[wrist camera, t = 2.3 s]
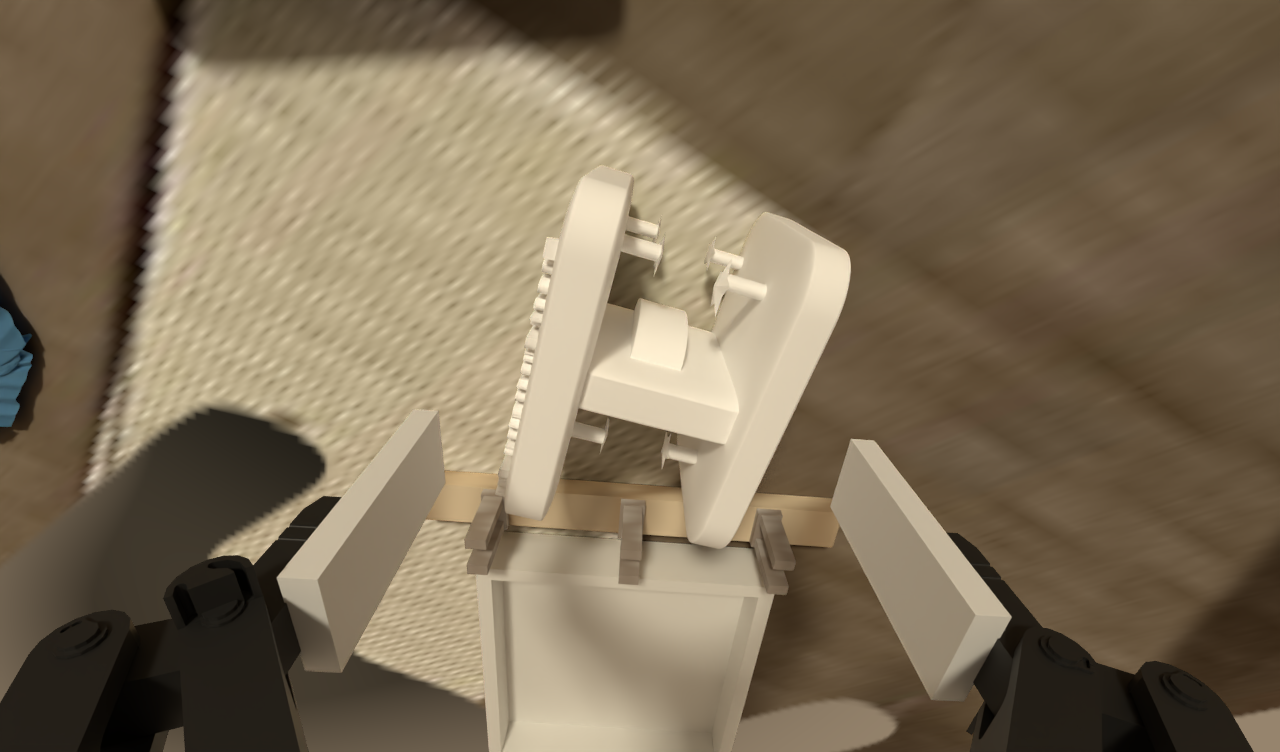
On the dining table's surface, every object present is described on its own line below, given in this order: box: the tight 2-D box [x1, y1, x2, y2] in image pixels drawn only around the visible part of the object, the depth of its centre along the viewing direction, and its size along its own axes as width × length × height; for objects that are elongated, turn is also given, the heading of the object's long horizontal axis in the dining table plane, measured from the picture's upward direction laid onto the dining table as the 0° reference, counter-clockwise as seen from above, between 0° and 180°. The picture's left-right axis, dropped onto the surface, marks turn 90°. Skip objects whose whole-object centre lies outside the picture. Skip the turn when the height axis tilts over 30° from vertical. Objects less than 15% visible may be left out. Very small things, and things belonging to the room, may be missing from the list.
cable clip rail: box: [426, 471, 840, 595], centre depth 33 cm, size 28×3×6 cm, turn 85°
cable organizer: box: [495, 165, 851, 549], centre depth 24 cm, size 15×11×12 cm
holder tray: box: [476, 531, 774, 752], centre depth 40 cm, size 20×22×4 cm
